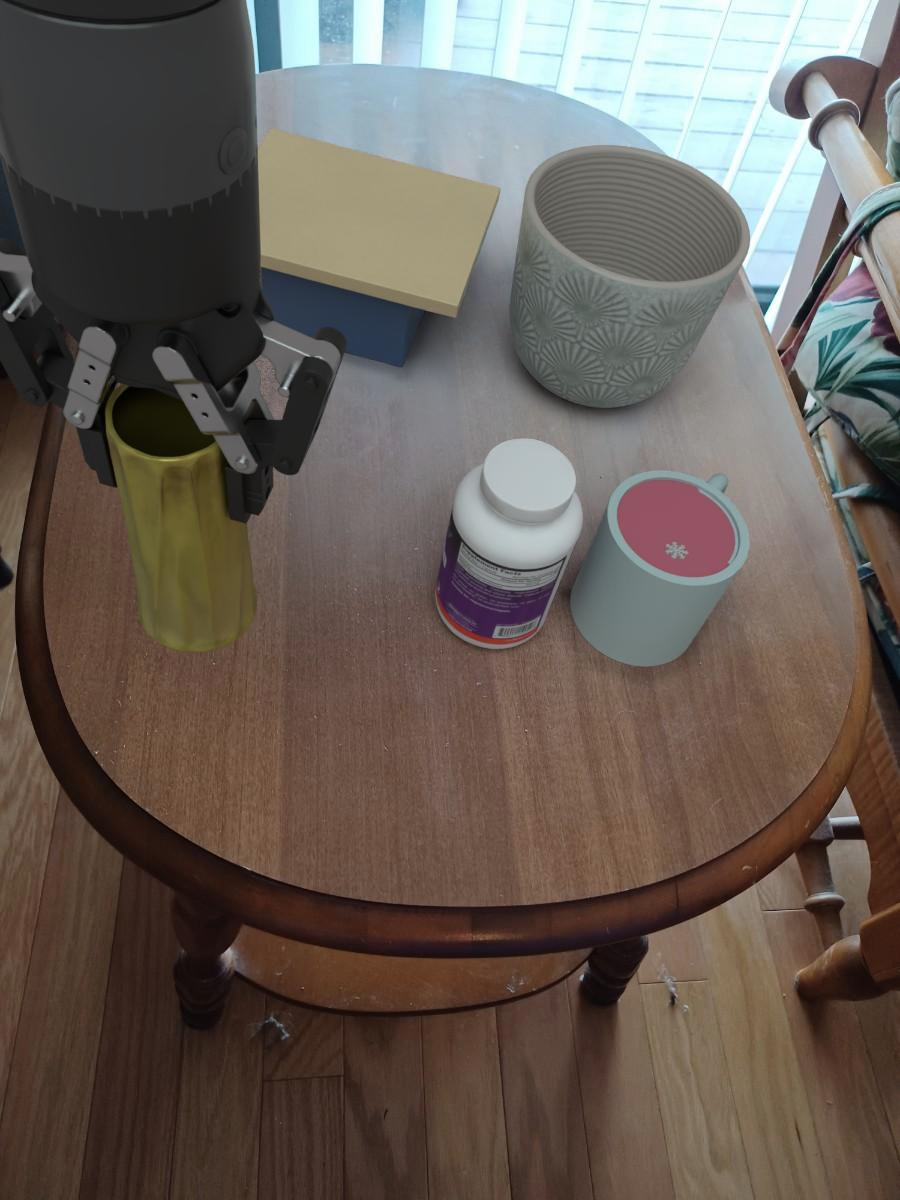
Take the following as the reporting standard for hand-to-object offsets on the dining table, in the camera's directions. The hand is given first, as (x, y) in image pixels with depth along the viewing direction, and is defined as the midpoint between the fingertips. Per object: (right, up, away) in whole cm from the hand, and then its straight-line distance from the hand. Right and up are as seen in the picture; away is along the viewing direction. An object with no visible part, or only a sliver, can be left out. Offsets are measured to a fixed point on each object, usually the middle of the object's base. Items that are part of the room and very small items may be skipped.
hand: (181, 488), depth 42 cm
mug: (+26, -4, +27) cm, 38 cm away
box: (+4, +21, +40) cm, 46 cm away
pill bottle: (+15, -5, +25) cm, 29 cm away
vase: (-1, -5, +8) cm, 10 cm away
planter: (+24, +15, +40) cm, 49 cm away
